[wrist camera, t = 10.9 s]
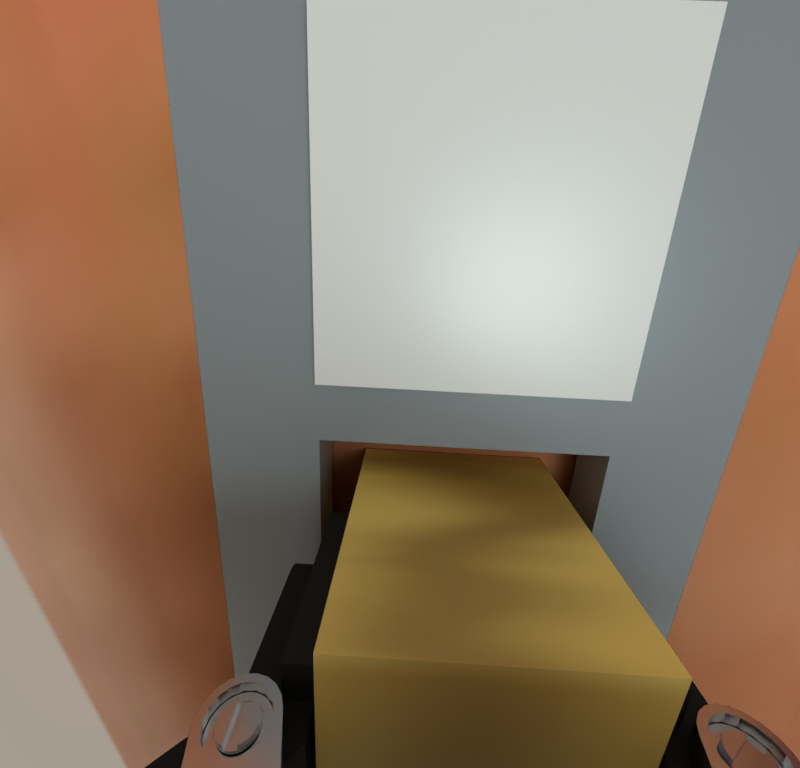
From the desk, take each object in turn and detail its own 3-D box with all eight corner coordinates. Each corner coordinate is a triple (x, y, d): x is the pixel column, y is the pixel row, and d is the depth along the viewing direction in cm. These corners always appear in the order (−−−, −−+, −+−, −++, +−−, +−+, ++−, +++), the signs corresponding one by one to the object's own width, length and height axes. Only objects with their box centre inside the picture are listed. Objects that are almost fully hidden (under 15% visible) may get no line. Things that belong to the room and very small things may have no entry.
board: (807, 7, 7) (925, -73, 6) (564, 837, 16) (584, 907, 14) (197, -14, 8) (135, -98, 6) (271, 815, 16) (254, 882, 14)
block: (539, 458, 11) (692, 678, 5) (515, 595, 12) (610, 891, 6) (366, 448, 11) (313, 652, 5) (362, 586, 12) (318, 868, 6)
